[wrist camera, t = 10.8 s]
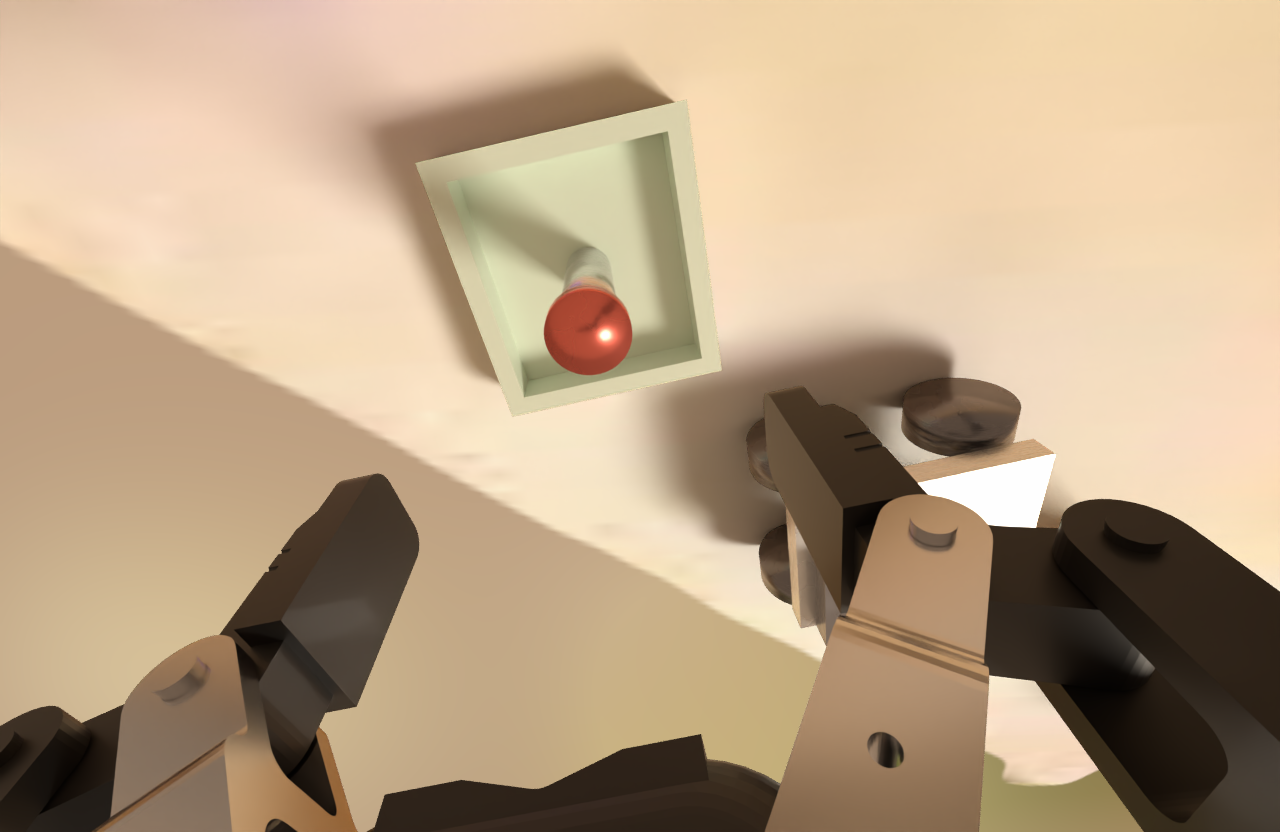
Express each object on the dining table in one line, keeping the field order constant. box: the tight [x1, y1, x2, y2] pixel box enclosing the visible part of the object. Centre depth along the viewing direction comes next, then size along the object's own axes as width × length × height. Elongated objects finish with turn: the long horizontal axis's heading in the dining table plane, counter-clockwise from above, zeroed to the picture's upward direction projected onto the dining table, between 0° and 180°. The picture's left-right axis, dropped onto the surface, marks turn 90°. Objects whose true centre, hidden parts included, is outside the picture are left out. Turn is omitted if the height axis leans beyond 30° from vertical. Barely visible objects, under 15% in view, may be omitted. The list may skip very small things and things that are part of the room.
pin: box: [544, 247, 632, 375], centre depth 22 cm, size 3×3×10 cm
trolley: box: [747, 378, 1055, 646], centre depth 32 cm, size 12×16×10 cm
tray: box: [415, 100, 722, 417], centre depth 26 cm, size 13×12×3 cm
